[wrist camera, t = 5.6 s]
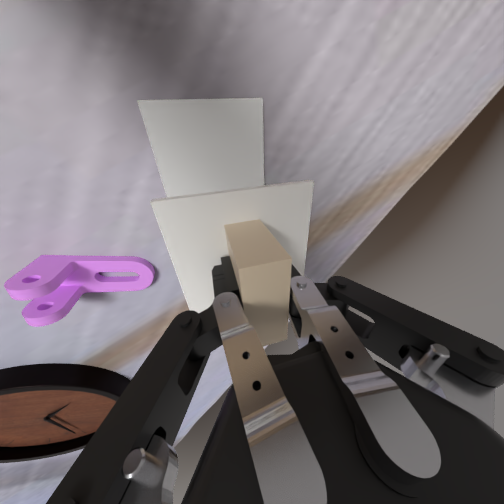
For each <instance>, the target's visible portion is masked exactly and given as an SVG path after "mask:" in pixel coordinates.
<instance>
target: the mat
mask: <svg viewBox="0 0 504 504" xmlns="http://www.w3.org/2000/svg"><path fill="white" fill-rule="evenodd" d="M137 102H138V105H139V109H140V112H141V115H142V118H143V122H144V125H145V128H146V131H147V135H148V138H149V141H150V144H151V148H152V151H153V154H154V157H155V161H156V164H157V167H158V170H159V174H160V177H161V180H162V183H163V187H164V190H165V193H166V196H167V198H168V197H176V196H184V195H192V194H200V193H208V192H216V191H224V190H232V189H240V188H248V187H256V186H264V142H263V98H226V99H176V100H137Z"/></svg>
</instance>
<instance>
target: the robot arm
mask: <svg viewBox="0 0 504 504" xmlns="http://www.w3.org/2000/svg"><path fill="white" fill-rule="evenodd" d="M220 258H221V263H222V264H221V265H216V266H214V267H213V269H212V279H213V289H214V300H213V303H212V305H211V306H210V307H209V308H207V309H206V310H204V311H202V312H200V313H197V312H196V311H193V310H189V311H185V312H182V313H180V314H179V315H177V316H176V317H175V318H174V319H173V321H172V322H171V324H170V325H169V327H168V328H167V330H166V331H165V332H164V334H163V335H162V337H161V338H160V340H159V341H158V343H157V344H156V345H155V347H154V348H153V350H152V351H151V353H150V354H149V356H148V357H147V358H146V360H145V361H144V363H143V364H142V366H141V367H140V369H139V370H138V371H137V373H136V374H135V376H134V377H133V379H132V380H131V382H130V383H129V384H128V386H127V387H126V389H125V390H124V392H123V393H122V395H121V396H120V397H119V399H118V400H117V402H116V403H115V405H114V406H113V408H112V409H111V410H110V412H109V413H108V415H107V416H106V418H105V419H104V421H103V422H102V423H101V425H100V426H99V428H98V429H97V431H96V432H95V434H94V435H93V436H92V438H91V439H90V441H89V442H88V444H87V445H86V446H85V448H84V449H83V451H82V452H81V454H80V455H79V457H78V458H77V459H76V461H75V462H74V464H73V465H72V467H71V468H70V470H69V471H68V472H67V474H66V475H65V477H64V478H63V480H62V481H61V483H60V484H59V485H58V487H57V488H56V490H55V491H54V493H53V494H52V496H51V497H50V498H49V500H48V501H47V503H46V504H173V490H174V485H175V481H176V477H177V472H178V456H177V453H176V451H175V449H174V448H173V447H172V446H173V443H174V441H175V438H176V436H177V434H178V431H179V429H180V426H181V424H182V421H183V419H184V417H185V414H186V412H187V409H188V407H189V404H190V402H191V400H192V397H193V395H194V392H195V390H196V387H197V385H198V383H199V380H200V378H201V375H202V373H203V370H204V368H205V366H206V363H207V361H208V358H209V356H210V353H211V352H212V351H213V350H215V349H216V348H218V347H219V346H221V345H223V346H224V350H225V354H226V358H227V362H228V366H229V370H230V373H231V377H232V381H233V384H232V386H231V388H230V389H229V391H228V393H227V396H226V398H225V400H224V403H223V405H222V408H221V411H220V413H219V415H218V417H217V420H216V422H215V425H214V427H213V429H212V432H211V434H210V436H209V439H208V441H207V443H206V446H205V448H204V451H203V453H202V455H201V458H200V460H199V463H198V465H197V467H196V470H195V472H194V474H193V477H192V479H191V482H190V484H189V486H188V489H187V491H186V494H185V496H184V498H183V501H182V503H181V504H504V439H503V437H501V436H500V435H499V434H498V433H497V432H496V431H494V401H495V389H496V388H498V387H499V386H500V385H502V384H503V383H504V351H503V350H502V349H500V348H499V347H497V346H496V345H494V344H492V343H489V342H487V341H485V340H483V339H481V338H478V337H476V336H474V335H472V334H470V333H467V332H465V331H462V330H461V329H459V328H456V327H454V326H452V325H450V324H447V323H445V322H443V321H441V320H438V319H436V318H434V317H432V316H430V315H427V314H425V313H423V312H421V311H418V310H416V309H414V308H411V307H409V306H407V305H405V304H402V303H400V302H398V301H396V300H394V299H391V298H389V297H387V296H385V295H382V294H381V293H378V292H376V291H374V290H371V289H369V288H367V287H365V286H363V285H361V284H358V283H356V282H354V281H352V280H349V279H347V278H345V277H341V276H334V277H331V278H329V280H328V283H313V281H312V280H311V279H310V278H308V277H305V276H301V274H300V273H299V272H298V271H297V269H296V268H295V267H294V266H293V264H292V266H291V282H290V298H289V315H288V317H289V320H290V323H291V325H292V328H293V331H294V333H295V336H296V339H297V341H298V345H299V350H298V351H296V352H295V353H293V354H290V355H268V356H267V355H266V353H265V351H264V349H263V346H262V344H261V342H260V340H259V338H258V335H257V333H256V331H255V329H254V327H253V325H252V324H249V322H248V319H247V317H246V315H245V313H244V310H243V308H242V306H241V299H240V292H239V287H238V284H237V280H236V276H235V273H234V269H233V266H232V262H231V259H230V256H225V257H220ZM349 306H351V307H353V308H355V309H357V310H359V311H360V312H362V313H364V314H366V315H368V316H369V317H371V318H372V319H373V320H374V322H375V323H372V322H369V321H368V320H366V319H364V318H362V317H361V316H359V315H357V314H355V313H353V312H351V311H350V310H348V307H349ZM366 348H367V349H369V350H370V351H372V352H373V353H375V354H376V355H378V356H379V357H381V358H382V359H384V360H385V361H387V362H388V363H390V364H391V365H393V366H394V367H396V368H398V369H399V370H401V371H402V372H403V374H404V375H405V377H404V376H402V375H401V374H399V373H397V372H395V371H393V370H391V369H390V368H388V367H386V366H384V365H382V364H381V363H378V362H377V361H375V360H373V358H372V357H371V356H370V354H369V353H368V351H367V350H366Z"/></svg>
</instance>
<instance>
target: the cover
mask: <svg viewBox="0 0 504 504" xmlns="http://www.w3.org/2000/svg"><path fill="white" fill-rule="evenodd" d="M313 188H314V181H312V180H304V181H296V182H288V183H280V184H272V185H264V186H256V187H248V188H240V189H232V190H224V191H216V192H208V193H200V194H192V195H184V196H176V197H168V198H159V199H152V200H151V202H150V203H151V206H152V209H153V211H154V214H155V217H156V219H157V222H158V225H159V228H160V230H161V233H162V236H163V239H164V241H165V244H166V247H167V249H168V252H169V255H170V258H171V260H172V263H173V266H174V269H175V271H176V274H177V277H178V279H179V282H180V285H181V288H182V290H183V293H184V296H185V299H186V301H187V304H188V307H189V309H190V310H193V311H196V312H197V313H200V312H202V311H204V310H206V309H207V308H209V307H210V306H211V305H212V303H213V300H214V289H213V279H212V269H213V267H214V266H216V265H221V264H222V263H221V258H220V257H225V256H230V259H231V262H232V266H233V269H234V273H235V276H236V280H237V284H238V287H239V292H240V299H241V306H242V308H243V310H244V313H245V315H246V317H247V319H248V322H249V324H252V325H253V327H254V329H255V331H256V333H257V335H258V338H259V340H260V342H261V344H262V346H266V345H269V344H272V343H276V342H279V341H283V340H286V339H287V331H288V330H287V329H288V315H289V298H290V282H291V266H292V264H293V266H294V267H295V268H296V269H297V271H298V272H299V273H300V274H301V276H304V270H305V261H306V251H307V242H308V233H309V224H310V215H311V206H312V197H313Z"/></svg>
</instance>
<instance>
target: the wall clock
mask: <svg viewBox="0 0 504 504" xmlns="http://www.w3.org/2000/svg"><path fill="white" fill-rule="evenodd" d="M130 382H131V381H130V380H128V379H127V378H126V377H124V376H122V375H120V374H118V373H116V372H113V371H110V370H107V369H103V368H99V367H94V366H87V365H79V364H55V363H53V364H34V365H24V366H17V367H11V368H5V369H0V463H9V462H21V461H29V460H36V459H42V458H48V457H53V456H57V455H62V454H66V453H70V452H73V451H77V450H80V449H83V448H85V446H86V445H87V444H88V442H89V441H90V439H91V438H92V436H93V435H94V434H95V432H96V431H97V429H98V428H99V426H100V425H101V423H102V422H103V421H104V419H105V418H106V416H107V415H108V413H109V412H110V410H111V409H112V408H113V406H114V405H115V403H116V402H117V400H118V399H119V397H120V396H121V395H122V393H123V392H124V390H125V389H126V387H127V386H128V384H129V383H130Z"/></svg>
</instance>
